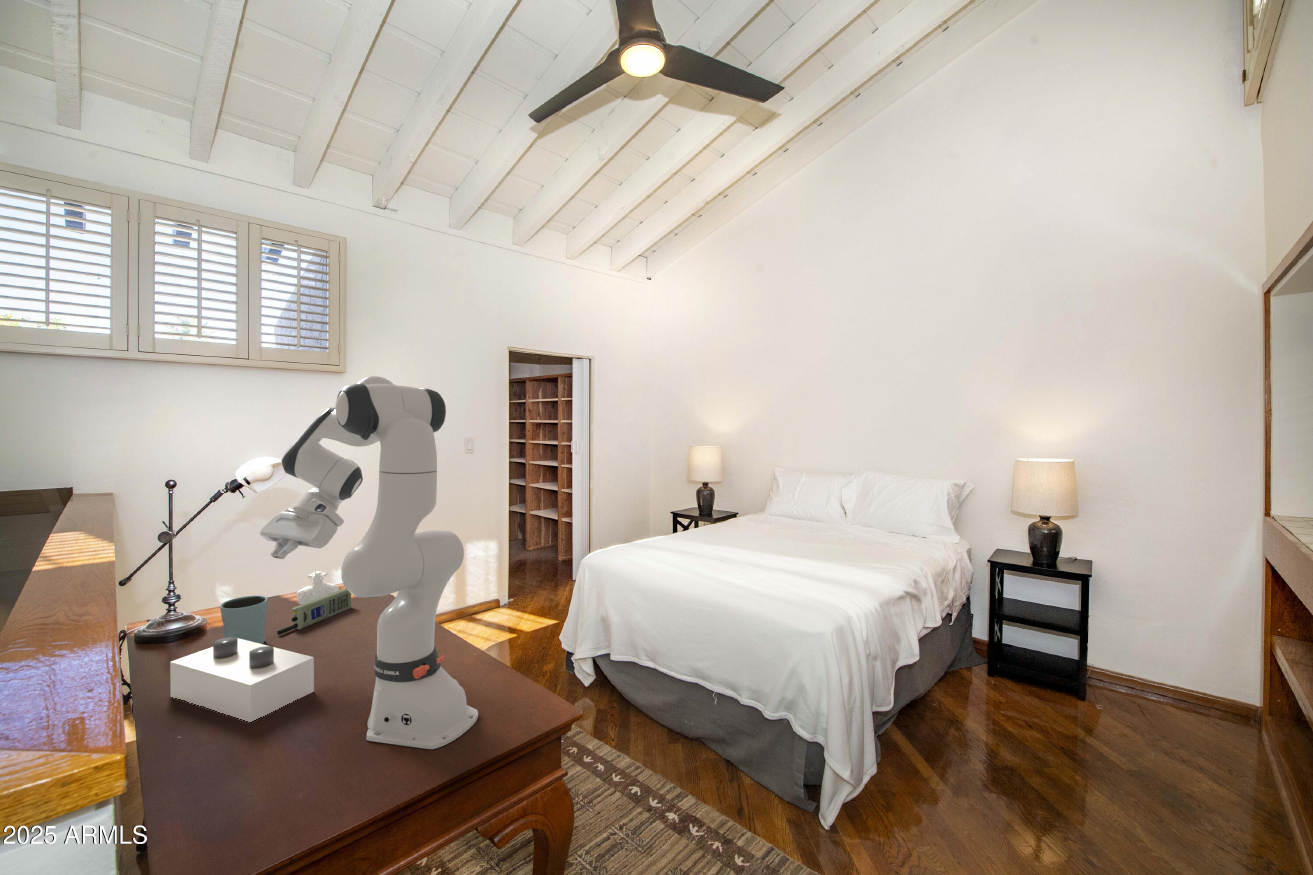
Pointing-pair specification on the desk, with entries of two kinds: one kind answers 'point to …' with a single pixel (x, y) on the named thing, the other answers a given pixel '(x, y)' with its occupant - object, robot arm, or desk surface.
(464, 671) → the desk surface
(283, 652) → the control block
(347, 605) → the handheld radio
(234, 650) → the knob
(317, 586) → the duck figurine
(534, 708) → the desk surface
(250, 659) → the knob
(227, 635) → the teal plant pot
